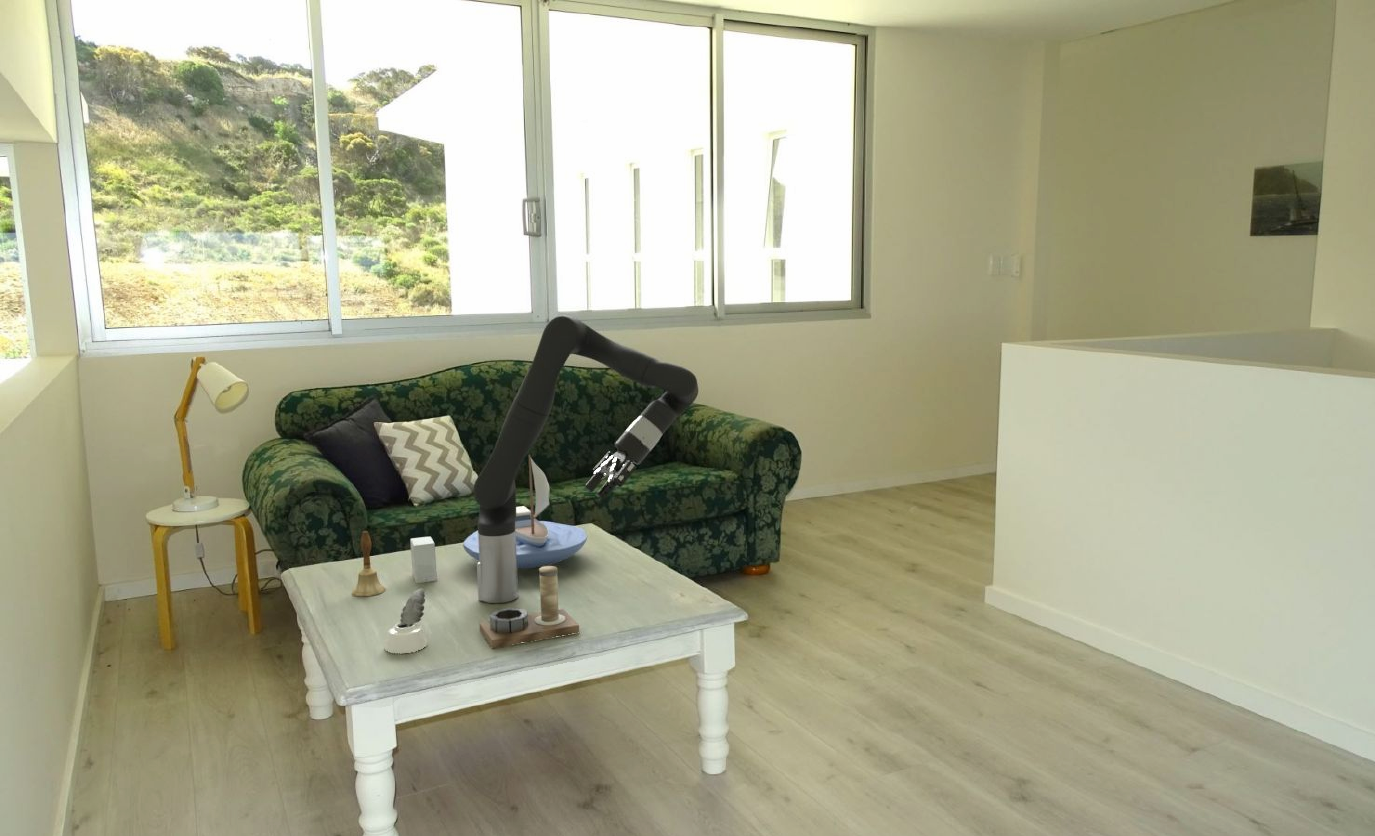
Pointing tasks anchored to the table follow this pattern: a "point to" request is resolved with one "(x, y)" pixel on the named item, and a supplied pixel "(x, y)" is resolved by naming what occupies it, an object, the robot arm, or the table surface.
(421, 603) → the inkwell
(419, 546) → the small box
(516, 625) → the ring
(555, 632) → the walnut board
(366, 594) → the hand bell
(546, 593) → the wooden peg
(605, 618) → the table surface
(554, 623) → the rest disc
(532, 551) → the sailboat
